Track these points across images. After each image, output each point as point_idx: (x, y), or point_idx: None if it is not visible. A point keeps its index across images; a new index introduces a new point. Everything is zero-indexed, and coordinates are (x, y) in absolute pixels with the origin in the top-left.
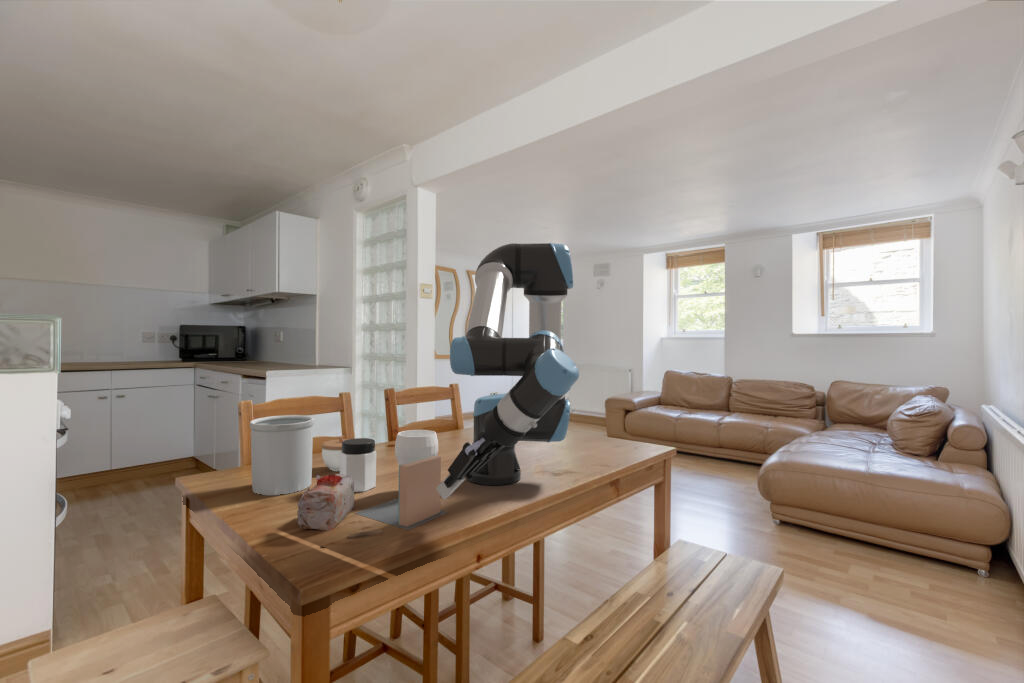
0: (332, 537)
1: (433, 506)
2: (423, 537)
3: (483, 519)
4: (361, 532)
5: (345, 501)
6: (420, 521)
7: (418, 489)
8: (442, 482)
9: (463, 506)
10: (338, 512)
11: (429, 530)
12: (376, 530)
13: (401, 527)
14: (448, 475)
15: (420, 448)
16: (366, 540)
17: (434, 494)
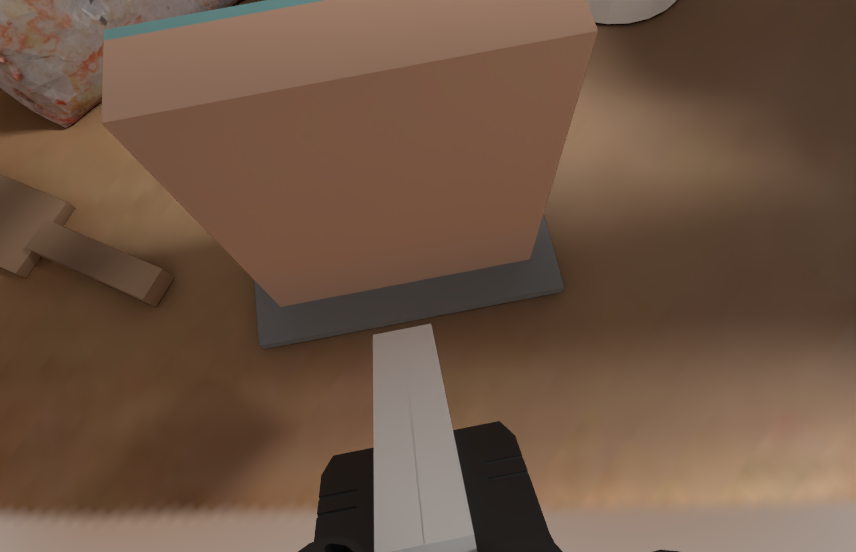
0: (38, 171)
1: (478, 250)
2: (278, 450)
3: (687, 488)
4: (85, 241)
5: (114, 3)
6: (373, 296)
7: (322, 216)
8: (375, 392)
9: (708, 247)
10: (56, 68)
11: (358, 396)
12: (139, 267)
13: (258, 297)
14: (376, 462)
15: None
16: (94, 290)
17: (487, 219)
